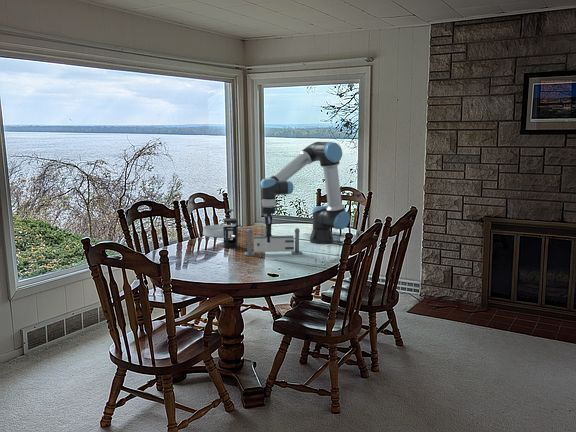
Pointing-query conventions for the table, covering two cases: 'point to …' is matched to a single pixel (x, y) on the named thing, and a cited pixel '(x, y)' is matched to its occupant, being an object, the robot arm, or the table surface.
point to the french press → (227, 242)
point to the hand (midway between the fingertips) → (268, 247)
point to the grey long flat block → (274, 244)
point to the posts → (250, 253)
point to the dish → (215, 230)
